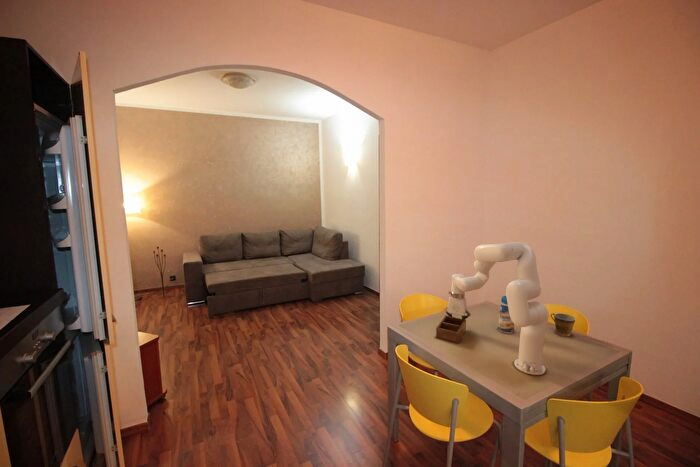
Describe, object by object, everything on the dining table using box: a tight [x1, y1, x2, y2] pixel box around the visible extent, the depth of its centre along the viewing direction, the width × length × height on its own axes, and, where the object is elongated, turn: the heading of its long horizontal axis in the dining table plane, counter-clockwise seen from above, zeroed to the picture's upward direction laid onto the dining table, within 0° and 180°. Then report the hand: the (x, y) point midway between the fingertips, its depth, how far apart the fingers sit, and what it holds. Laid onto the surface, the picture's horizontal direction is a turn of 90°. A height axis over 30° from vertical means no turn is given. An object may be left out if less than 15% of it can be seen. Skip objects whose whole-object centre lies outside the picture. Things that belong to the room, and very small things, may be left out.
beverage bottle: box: [497, 295, 515, 334], centre depth 183 cm, size 8×8×20 cm
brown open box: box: [435, 314, 467, 344], centre depth 181 cm, size 6×12×19 cm
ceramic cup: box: [550, 312, 576, 337], centre depth 181 cm, size 13×10×10 cm
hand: (456, 323), depth 189 cm, fingers closed on brown open box, 6 cm apart
